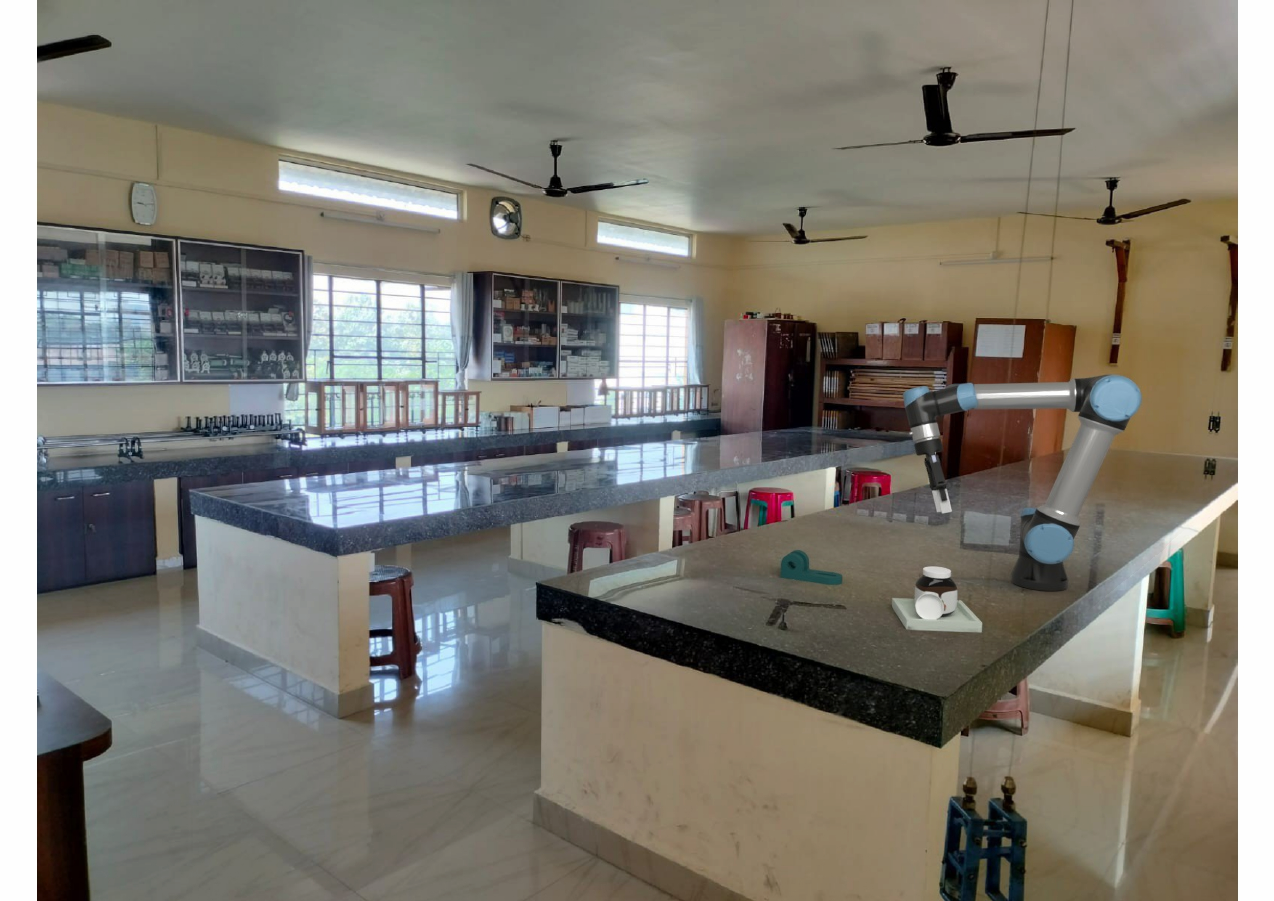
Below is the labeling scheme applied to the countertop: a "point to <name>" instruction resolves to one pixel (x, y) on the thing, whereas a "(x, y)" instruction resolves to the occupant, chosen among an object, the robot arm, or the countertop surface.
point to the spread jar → (935, 593)
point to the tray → (956, 621)
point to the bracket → (806, 570)
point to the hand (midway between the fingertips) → (944, 512)
